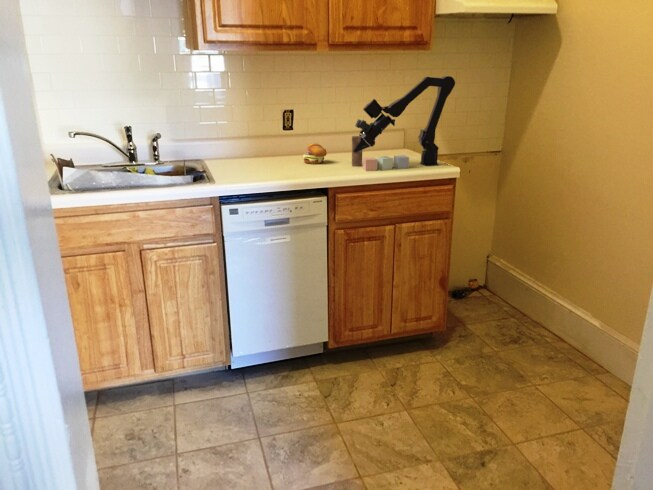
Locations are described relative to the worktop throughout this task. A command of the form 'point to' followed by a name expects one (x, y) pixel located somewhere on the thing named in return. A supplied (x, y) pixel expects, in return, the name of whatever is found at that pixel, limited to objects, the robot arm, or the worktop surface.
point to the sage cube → (384, 163)
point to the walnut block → (358, 155)
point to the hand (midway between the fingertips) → (353, 150)
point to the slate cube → (401, 162)
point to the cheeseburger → (314, 154)
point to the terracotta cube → (370, 164)
